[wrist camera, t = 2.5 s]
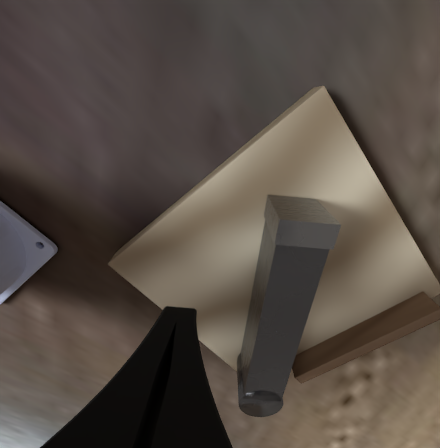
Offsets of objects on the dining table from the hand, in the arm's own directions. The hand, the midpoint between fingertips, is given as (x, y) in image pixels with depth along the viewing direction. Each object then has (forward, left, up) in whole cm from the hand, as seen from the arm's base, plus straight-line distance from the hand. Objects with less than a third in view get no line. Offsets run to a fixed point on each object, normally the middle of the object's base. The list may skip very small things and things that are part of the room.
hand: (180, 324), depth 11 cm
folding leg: (+5, +2, -5) cm, 7 cm away
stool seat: (+4, +3, -6) cm, 8 cm away
